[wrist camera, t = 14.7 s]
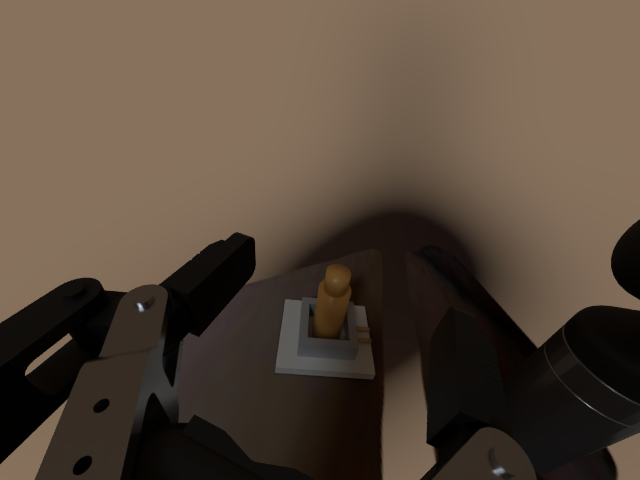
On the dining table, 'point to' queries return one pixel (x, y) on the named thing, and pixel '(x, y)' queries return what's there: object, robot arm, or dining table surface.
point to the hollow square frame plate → (324, 344)
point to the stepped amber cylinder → (332, 303)
